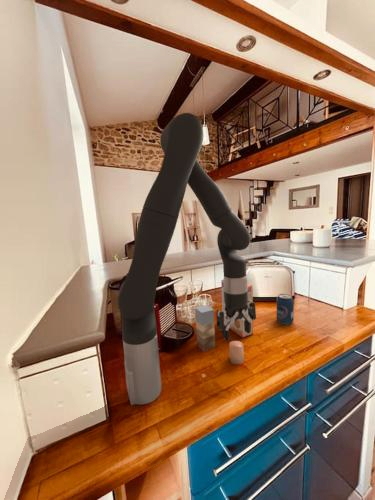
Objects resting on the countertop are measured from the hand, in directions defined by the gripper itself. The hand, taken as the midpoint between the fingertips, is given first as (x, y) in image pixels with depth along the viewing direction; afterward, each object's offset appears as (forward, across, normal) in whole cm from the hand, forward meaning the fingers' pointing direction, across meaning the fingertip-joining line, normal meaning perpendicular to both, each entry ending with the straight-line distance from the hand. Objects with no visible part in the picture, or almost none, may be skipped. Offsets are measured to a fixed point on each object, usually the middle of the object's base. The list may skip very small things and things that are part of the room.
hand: (237, 335), depth 70 cm
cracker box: (+9, +12, +16) cm, 23 cm away
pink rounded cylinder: (+9, 0, 0) cm, 9 cm away
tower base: (+9, -6, +12) cm, 16 cm away
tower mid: (+4, -6, +12) cm, 14 cm away
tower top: (-1, -5, +12) cm, 13 cm away
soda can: (+10, +34, +11) cm, 37 cm away
